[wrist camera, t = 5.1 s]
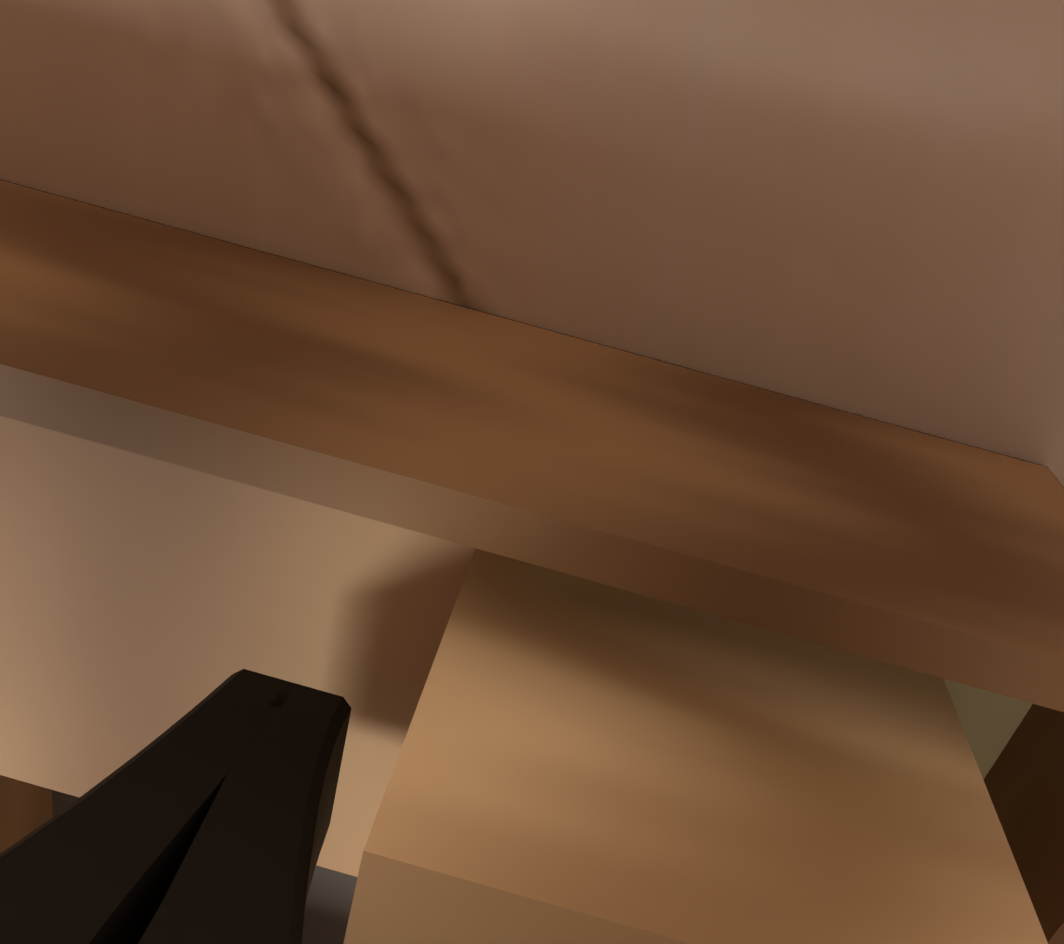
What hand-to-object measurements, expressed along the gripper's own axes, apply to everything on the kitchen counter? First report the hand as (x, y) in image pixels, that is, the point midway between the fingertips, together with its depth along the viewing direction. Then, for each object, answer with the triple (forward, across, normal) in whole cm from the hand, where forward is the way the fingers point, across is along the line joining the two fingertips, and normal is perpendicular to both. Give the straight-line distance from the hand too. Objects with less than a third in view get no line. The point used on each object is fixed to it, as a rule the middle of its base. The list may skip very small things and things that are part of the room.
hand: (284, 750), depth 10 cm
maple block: (+1, -4, 0) cm, 4 cm away
